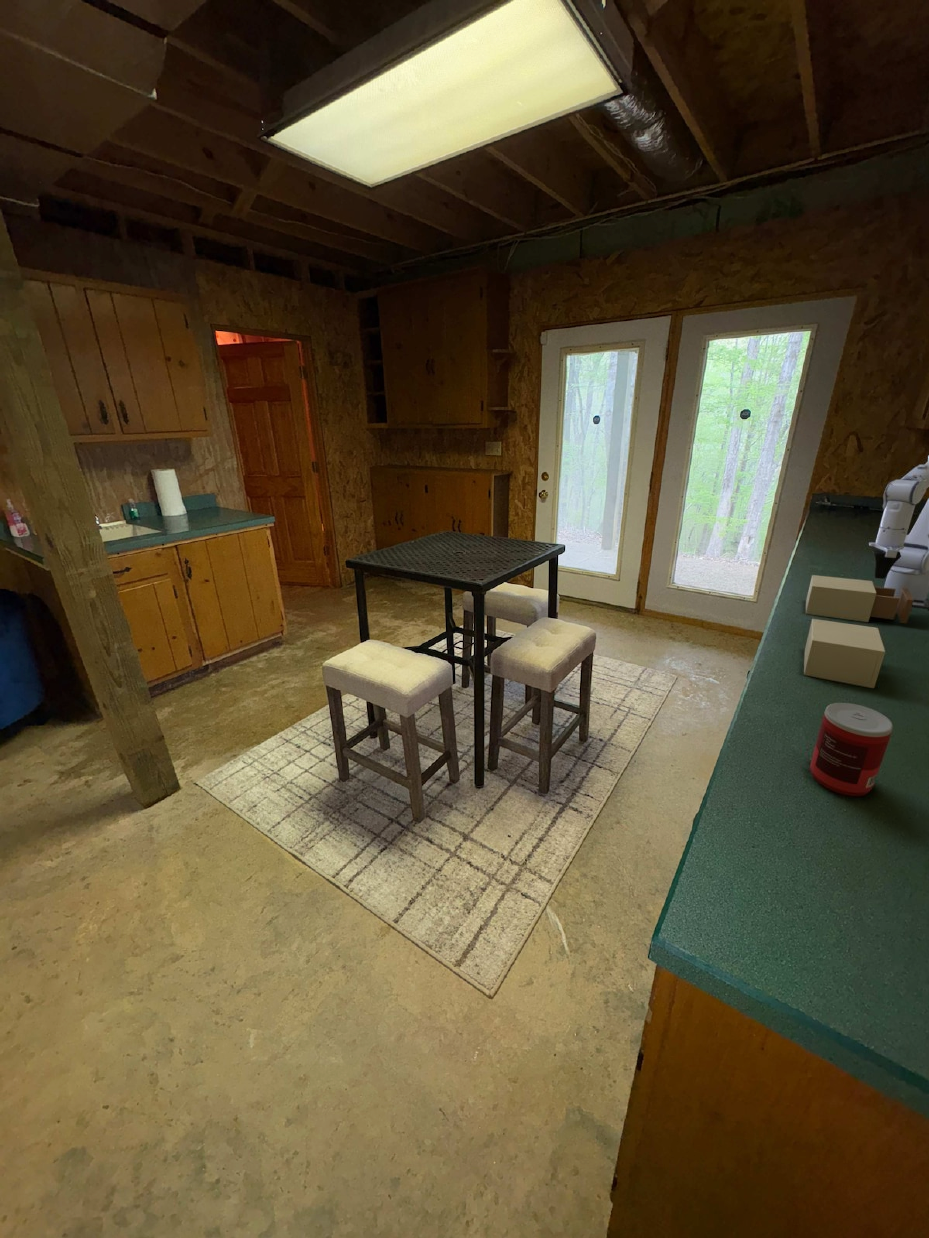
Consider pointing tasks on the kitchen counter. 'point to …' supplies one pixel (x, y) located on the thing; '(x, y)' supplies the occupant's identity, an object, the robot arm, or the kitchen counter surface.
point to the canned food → (850, 748)
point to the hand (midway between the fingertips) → (879, 577)
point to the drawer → (894, 604)
